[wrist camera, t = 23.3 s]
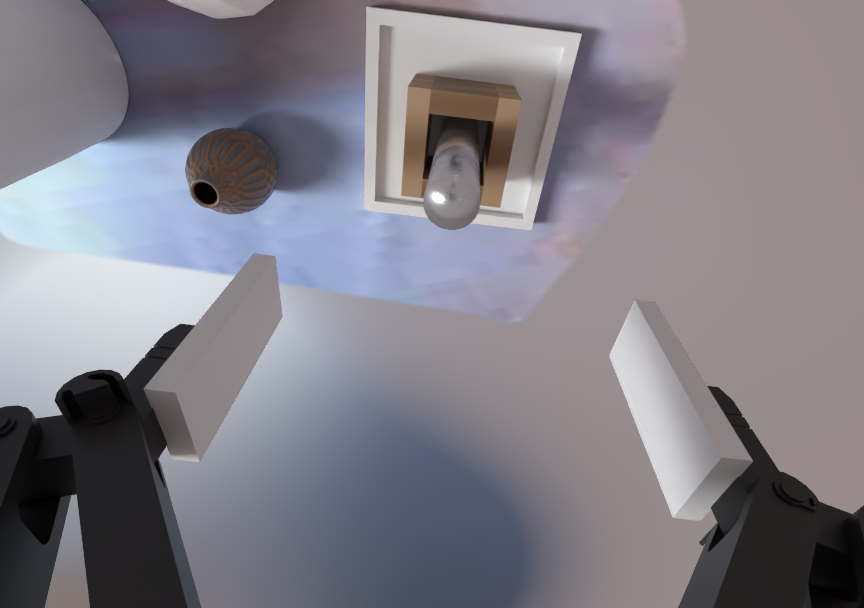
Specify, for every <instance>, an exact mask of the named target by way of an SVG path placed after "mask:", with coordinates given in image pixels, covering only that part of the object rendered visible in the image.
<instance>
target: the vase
mask: <svg viewBox="0 0 864 608" xmlns="http://www.w3.org/2000/svg"><path fill="white" fill-rule="evenodd" d="M185 171H186V178H187V182H188V184H189V187H190V194H191V196H192V198H193V199H194V200H195V202H197V203H198V204H199V205H201V206H203V207H205V208H211V209H213V210H215V211H217V212H221V213H225V214H241V213H246V212H249V211H252V210H254V209H256V208H258V207H259V206H261V205H262V204H263V203H264V202H265V201H266V200H267V199H268V198H269V197H270V196H271V194H272V192H273V191H274V189H275V186H276V183H277V177H278V168H277V163H276V159H275V157H274V154H273V152H272V151H271V149H270V148H269V146H268V145H267V144H266V143H265V142H264V141H263V140H262V139H261V138H259V137H258V136H256V135H255V134H253V133H251V132H248V131H246V130H243V129H237V128H222V129H218V130H215V131H212V132H210V133H208V134H206V135H204V136H203V137H201V138H200V139H199V140H198V141H197V142H196V143H195V144H194V146H193V147H192V149H191V150H190V152H189V155H188V157H187V161H186V168H185Z"/></svg>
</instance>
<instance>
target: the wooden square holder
mask: <svg viewBox="0 0 864 608" xmlns="http://www.w3.org/2000/svg"><path fill="white" fill-rule="evenodd" d="M521 103H522V99H521V97H520V96H519V94H518V92H517V90H516V88H515V86H513V85H505V84H497V83H489V82H481V81H472V80H464V79H456V78H448V77H440V76H432V75H424V74H415V76H414V78H413V79H412V81H411V82H410V84H409V85H408V93H407V109H406V125H405V141H404V157H403V173H402V189H401V196H406V197H415V198H423V199H424V194H425V190H426V186H427V182H428V178H429V174H430V170H431V166H432V162H433V159H434V156H428V151H429V141H430V131H431V120H432V114H436V115H444V116H452V117H460V118H469V119H477V120H485V121H488V126H487V132H486V138H485V144H484V150H483V156H482V162H479V174H480V206H488V207H497V208H500V206H501V201H502V196H503V191H504V186H505V181H506V176H507V172H508V167H509V162H510V157H511V152H512V147H513V142H514V137H515V133H516V128H517V123H518V118H519V113H520V108H521Z"/></svg>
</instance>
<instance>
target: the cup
mask: <svg viewBox="0 0 864 608" xmlns="http://www.w3.org/2000/svg"><path fill="white" fill-rule="evenodd" d="M167 1H169V2H171V3H173V4H176V5H178V6H181V7H184V8H187V9H190V10H192V11H195V12H198V13H201V14H204V15H207V16H209V17H212V18H216V19H224V18H233V17H243V16H252V15H255V14H256V13H258V12H259V11H260V10H262V9H263V8H264V7H266V6H267V5H269V4H270V3H271V2H273V1H274V0H167Z"/></svg>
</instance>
